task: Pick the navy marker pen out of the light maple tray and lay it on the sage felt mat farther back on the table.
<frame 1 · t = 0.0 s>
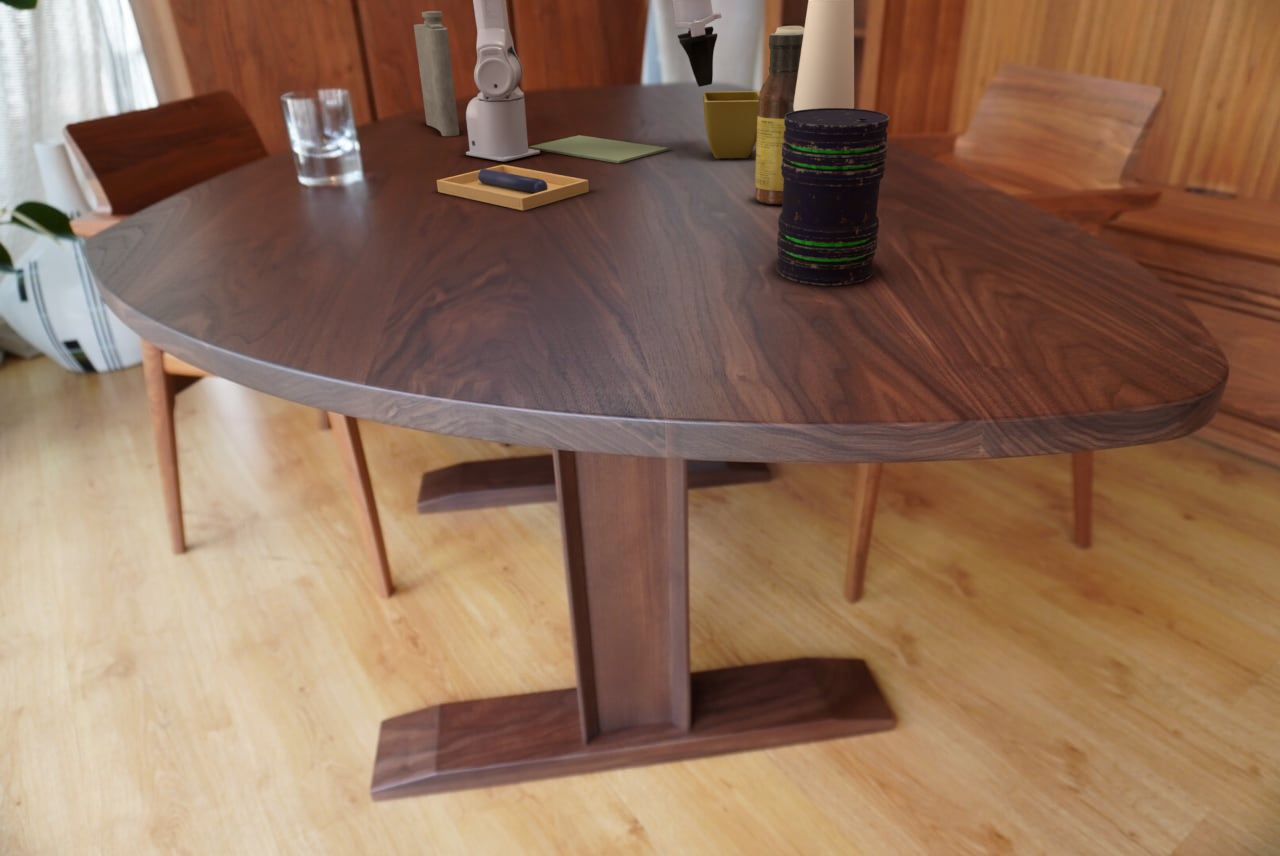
hand: (703, 81, 140), 11 cm above the table, tool pointing down, fingers open, 7 cm apart
flower pot: (730, 157, 142), on the table
water bottle: (796, 175, 130), on the table
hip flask: (445, 130, 169), on the table
cream tapered cone: (815, 223, 108), on the table
sauce bottle: (778, 201, 117), on the table
tray: (512, 191, 124), on the table
black cylinder: (824, 271, 92), on the table
pen: (512, 189, 124), resting on tray
mat: (597, 149, 149), on the table
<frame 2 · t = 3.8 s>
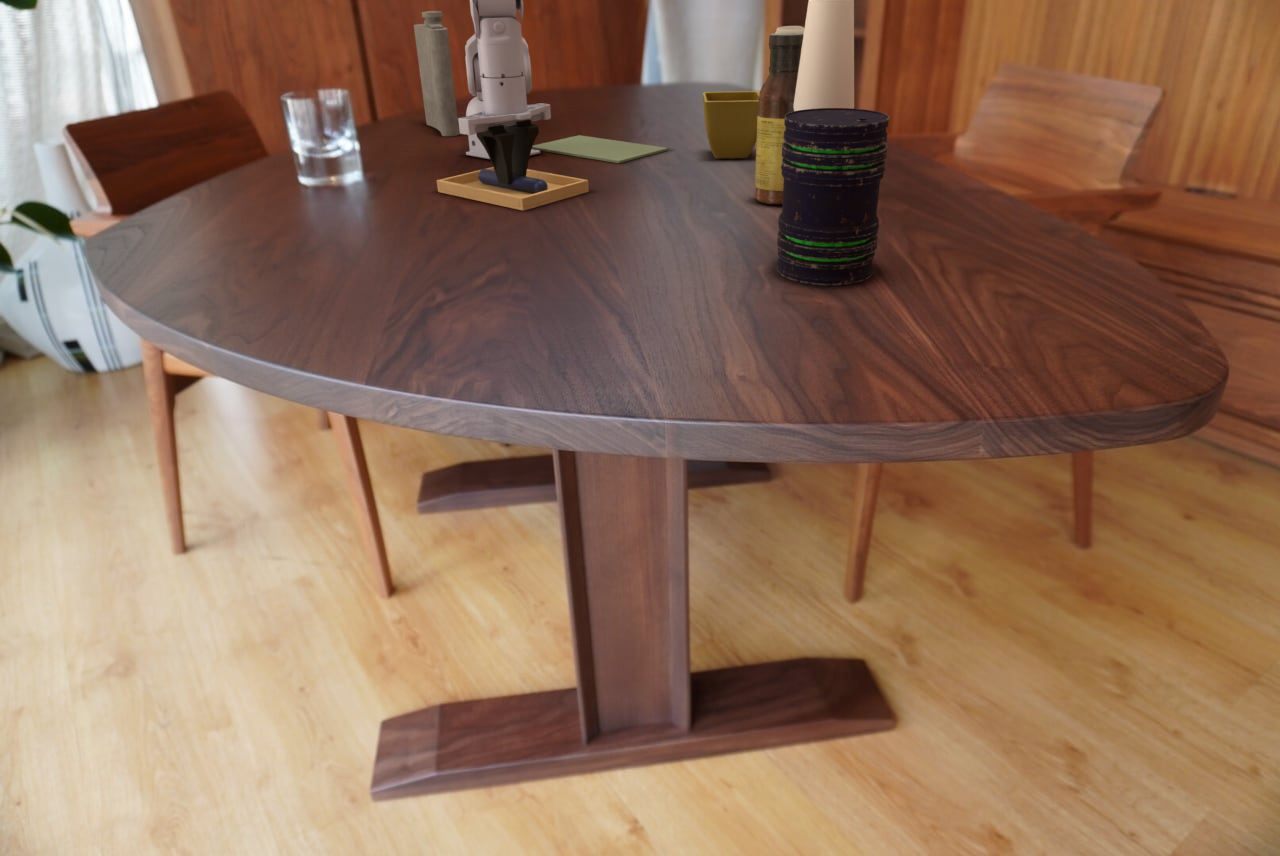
hand: (511, 181, 124), 1 cm above the table, tool pointing down, fingers closed on pen, 2 cm apart
pen: (512, 188, 124), resting on tray, touching gripper
everything else where it was.
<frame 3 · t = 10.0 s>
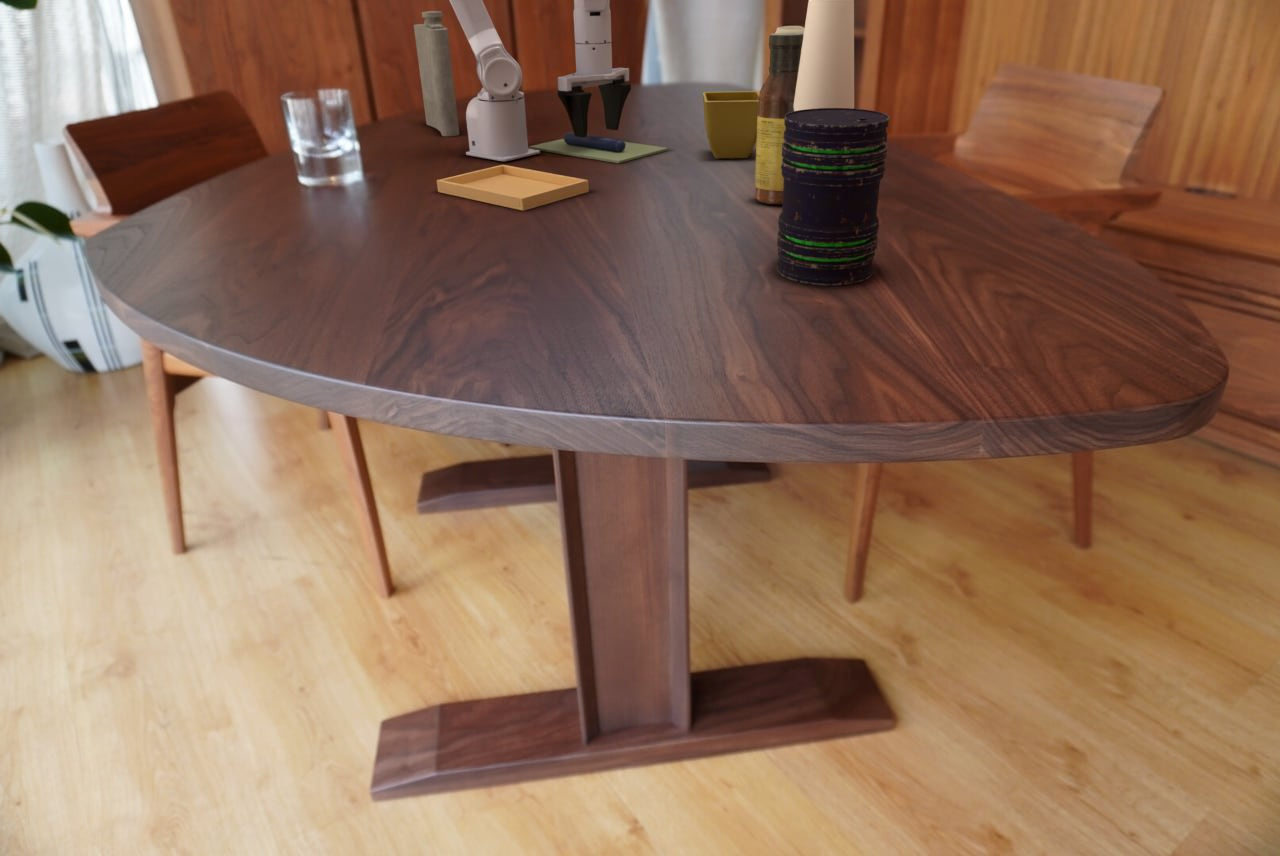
hand: (596, 132, 147), 3 cm above the table, tool pointing down, fingers open, 7 cm apart
pen: (597, 144, 148), point 1 cm above the table, tilted 56°, touching mat
everything else where it was.
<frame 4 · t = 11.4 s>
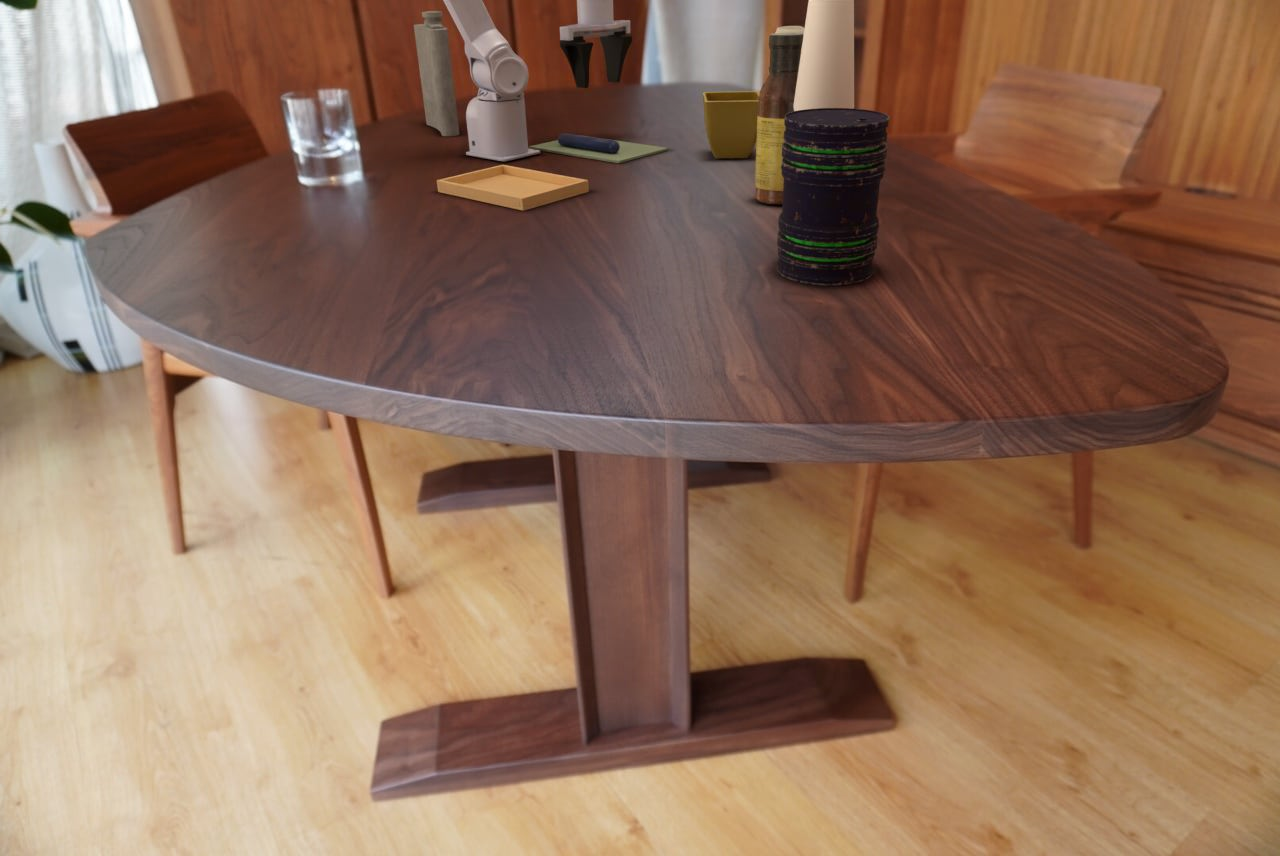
hand: (598, 84, 149), 9 cm above the table, tool pointing down, fingers open, 7 cm apart
pen: (590, 137, 146), point 2 cm above the table, tilted 137°, touching mat
everything else where it was.
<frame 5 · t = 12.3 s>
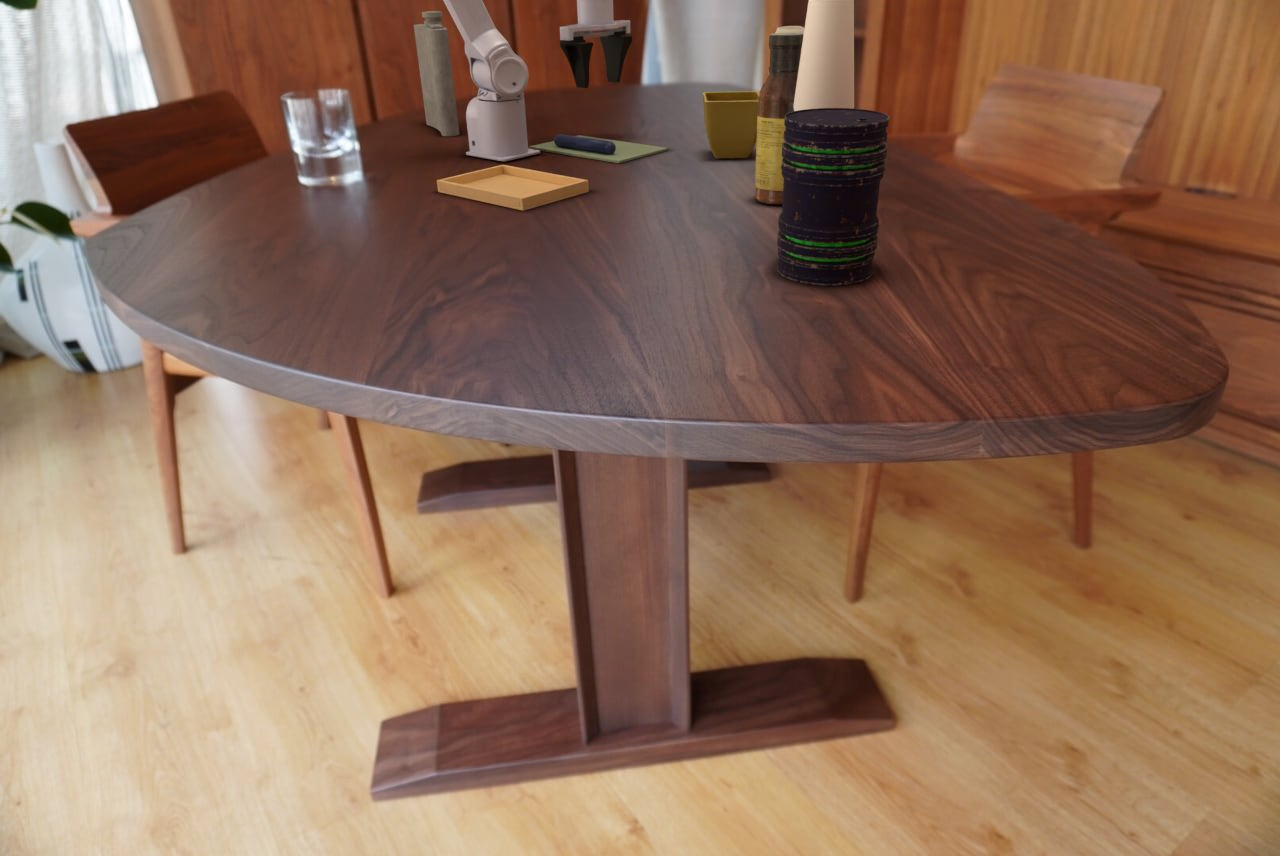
hand: (598, 84, 149), 9 cm above the table, tool pointing down, fingers open, 7 cm apart
pen: (583, 138, 145), point 2 cm above the table, tilted 171°, touching mat
everything else where it was.
at the end: pen inside the target area on the mat (3.4 cm from its centre), point 2.4 cm above the mat's base; the gripper is holding nothing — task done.
